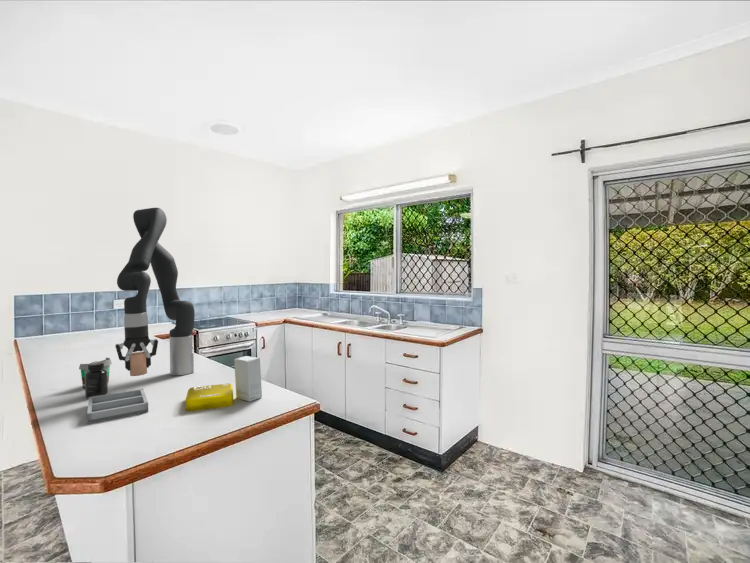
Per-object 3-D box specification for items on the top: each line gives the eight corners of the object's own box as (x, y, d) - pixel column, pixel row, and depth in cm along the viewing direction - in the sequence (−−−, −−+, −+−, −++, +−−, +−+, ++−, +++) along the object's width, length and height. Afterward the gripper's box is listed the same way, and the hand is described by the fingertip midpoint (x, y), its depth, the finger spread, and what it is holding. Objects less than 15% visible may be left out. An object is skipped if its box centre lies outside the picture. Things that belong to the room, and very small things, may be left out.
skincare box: (262, 397, 136) (261, 357, 136) (248, 402, 131) (247, 361, 131) (248, 393, 141) (247, 354, 140) (234, 397, 136) (233, 357, 136)
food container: (92, 390, 145) (91, 365, 145) (79, 389, 146) (78, 364, 146) (119, 381, 157) (119, 357, 157) (107, 380, 158) (107, 357, 158)
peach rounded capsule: (146, 370, 145) (145, 350, 144) (148, 374, 140) (147, 353, 140) (129, 373, 141) (128, 353, 141) (130, 377, 137) (129, 355, 136)
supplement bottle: (112, 393, 141) (111, 362, 141) (93, 399, 135) (92, 366, 134) (99, 391, 143) (99, 360, 143) (80, 397, 137) (79, 365, 137)
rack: (143, 396, 138) (143, 388, 138) (148, 411, 122) (148, 402, 122) (89, 405, 128) (88, 397, 128) (87, 423, 113) (87, 414, 113)
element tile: (185, 413, 122) (184, 399, 122) (188, 399, 136) (188, 386, 136) (233, 407, 128) (233, 393, 128) (232, 393, 142) (232, 381, 142)
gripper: (156, 321, 147) (158, 363, 148) (112, 325, 138) (114, 370, 139) (159, 323, 141) (161, 367, 142) (113, 328, 132) (115, 374, 133)
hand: (138, 368), depth 141 cm, fingers closed on peach rounded capsule, 5 cm apart
